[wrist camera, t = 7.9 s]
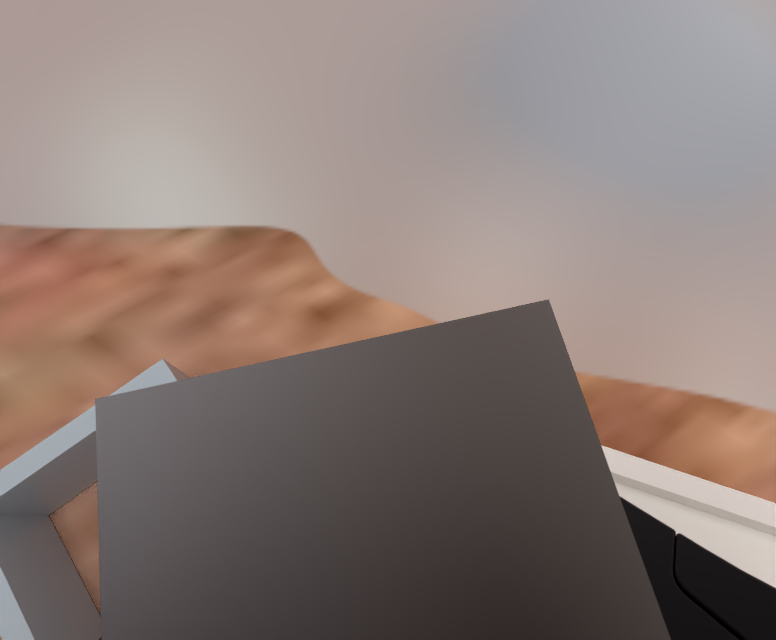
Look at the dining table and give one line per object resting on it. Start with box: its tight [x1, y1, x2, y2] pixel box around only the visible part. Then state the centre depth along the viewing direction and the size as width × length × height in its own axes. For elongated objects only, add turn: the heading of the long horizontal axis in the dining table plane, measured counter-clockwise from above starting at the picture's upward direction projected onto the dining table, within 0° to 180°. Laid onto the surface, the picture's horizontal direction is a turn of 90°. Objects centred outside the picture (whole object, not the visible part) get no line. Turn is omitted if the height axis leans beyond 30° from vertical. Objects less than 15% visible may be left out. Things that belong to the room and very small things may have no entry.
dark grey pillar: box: [95, 300, 671, 640], centre depth 9 cm, size 4×4×12 cm
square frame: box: [0, 359, 190, 640], centre depth 20 cm, size 8×8×4 cm
